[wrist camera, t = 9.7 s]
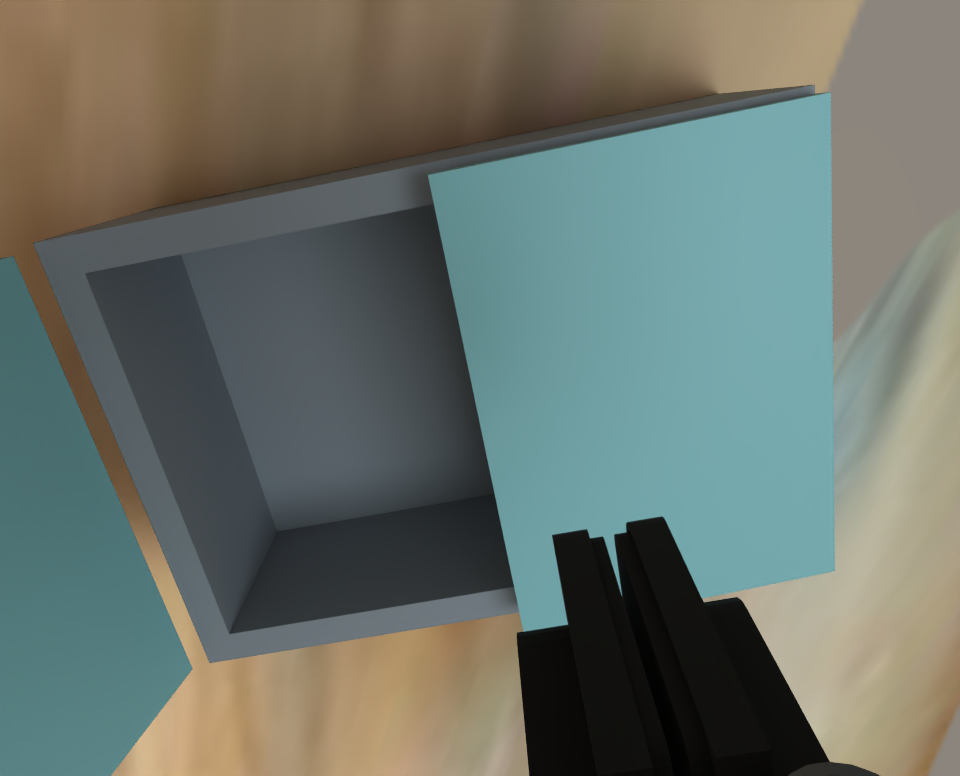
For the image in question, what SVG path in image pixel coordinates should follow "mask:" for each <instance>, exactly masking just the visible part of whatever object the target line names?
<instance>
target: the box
mask: <svg viewBox="0 0 960 776" xmlns="http://www.w3.org/2000/svg"><path fill="white" fill-rule="evenodd" d="M812 94H815V85H808V86H797V87H786V88H776V89H765V90H754V91H744V92H733V93H723V94H716V95H711V96H706V97H701V98H696V99H691V100H686V101H681V102H676V103H671V104H666V105H662V106H657V107H652V108H647V109H642V110H637V111H632V112H627V113H622V114H617V115H612V116H607V117H602V118H598V119H593V120H588V121H583V122H578V123H573V124H568V125H563V126H558V127H553V128H548V129H543V130H538V131H534V132H529V133H524V134H519V135H514V136H509V137H504V138H499V139H494V140H489V141H484V142H479V143H474V144H470V145H465V146H460V147H455V148H450V149H445V150H440V151H435V152H430V153H425V154H420V155H415V156H410V157H406V158H401V159H396V160H391V161H386V162H381V163H376V164H371V165H366V166H361V167H356V168H351V169H346V170H342V171H337V172H332V173H327V174H322V175H317V176H312V177H307V178H302V179H297V180H292V181H287V182H282V183H278V184H273V185H268V186H263V187H258V188H253V189H248V190H243V191H238V192H233V193H228V194H223V195H218V196H214V197H209V198H204V199H199V200H194V201H189V202H184V203H179V204H174V205H169V206H164V207H159V208H154V209H150V210H146V211H142V212H139V213H136V214H132V215H129V216H125V217H122V218H118V219H115V220H111V221H108V222H104V223H101V224H97V225H94V226H90V227H87V228H83V229H80V230H76V231H73V232H69V233H66V234H63V235H59V236H56V237H52V238H49V239H45V240H42V241H38V242H35V243H33V245H34V247H35V249H36V252H37V254H38V256H39V259H40V261H41V264H42V266H43V268H44V271H45V273H46V275H47V278H48V280H49V283H50V285H51V287H52V290H53V292H54V294H55V297H56V299H57V302H58V304H59V306H60V309H61V311H62V313H63V316H64V318H65V321H66V323H67V325H68V328H69V330H70V332H71V335H72V337H73V340H74V342H75V344H76V347H77V349H78V351H79V354H80V356H81V359H82V361H83V363H84V366H85V368H86V370H87V373H88V375H89V378H90V380H91V382H92V385H93V387H94V389H95V392H96V394H97V397H98V399H99V401H100V404H101V406H102V408H103V411H104V413H105V416H106V418H107V420H108V423H109V425H110V427H111V430H112V432H113V435H114V437H115V439H116V442H117V444H118V446H119V449H120V451H121V454H122V456H123V458H124V461H125V463H126V465H127V468H128V470H129V473H130V475H131V477H132V480H133V482H134V484H135V487H136V489H137V492H138V494H139V496H140V499H141V501H142V503H143V506H144V508H145V511H146V513H147V515H148V518H149V520H150V522H151V525H152V527H153V530H154V532H155V534H156V537H157V539H158V541H159V544H160V546H161V549H162V551H163V553H164V556H165V558H166V560H167V563H168V565H169V568H170V570H171V572H172V575H173V577H174V579H175V582H176V584H177V587H178V589H179V591H180V594H181V596H182V598H183V601H184V603H185V606H186V608H187V610H188V613H189V615H190V617H191V620H192V622H193V625H194V627H195V629H196V632H197V634H198V636H199V639H200V641H201V644H202V646H203V648H204V651H205V653H206V655H207V658H208V660H209V663H213V662H219V661H225V660H232V659H238V658H244V657H250V656H256V655H262V654H268V653H274V652H280V651H286V650H292V649H299V648H305V647H311V646H317V645H323V644H329V643H335V642H341V641H347V640H353V639H360V638H366V637H372V636H378V635H384V634H390V633H396V632H402V631H408V630H414V629H420V628H427V627H433V626H439V625H445V624H451V623H457V622H463V621H469V620H475V619H481V618H488V617H494V616H500V615H506V614H512V613H518V612H519V608H518V603H517V598H516V593H515V589H514V584H513V579H512V574H511V570H510V565H509V560H508V555H507V550H506V546H505V541H504V536H503V531H502V527H501V522H500V517H499V512H498V508H497V503H496V498H495V493H494V488H493V484H492V479H491V474H490V469H489V465H488V460H487V455H486V450H485V446H484V441H483V436H482V431H481V426H480V422H479V417H478V412H477V407H476V403H475V398H474V393H473V388H472V383H471V379H470V374H469V369H468V364H467V360H466V355H465V350H464V345H463V341H462V336H461V331H460V326H459V321H458V317H457V312H456V307H455V302H454V298H453V293H452V288H451V283H450V279H449V274H448V269H447V264H446V259H445V255H444V250H443V245H442V240H441V236H440V231H439V226H438V221H437V216H436V212H435V207H434V202H433V197H432V193H431V188H430V183H429V178H428V173H433V172H438V171H443V170H447V169H452V168H457V167H462V166H467V165H472V164H477V163H481V162H486V161H491V160H496V159H501V158H506V157H511V156H516V155H520V154H525V153H530V152H535V151H540V150H545V149H550V148H554V147H559V146H564V145H569V144H574V143H579V142H584V141H588V140H593V139H598V138H603V137H608V136H613V135H618V134H623V133H627V132H632V131H637V130H642V129H647V128H652V127H657V126H661V125H666V124H671V123H676V122H681V121H686V120H691V119H696V118H700V117H705V116H710V115H715V114H720V113H725V112H730V111H734V110H739V109H744V108H749V107H754V106H759V105H764V104H769V103H773V102H778V101H783V100H788V99H793V98H798V97H803V96H807V95H812Z"/></svg>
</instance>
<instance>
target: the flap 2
mask: <svg viewBox="0 0 960 776" xmlns="http://www.w3.org/2000/svg"><path fill="white" fill-rule="evenodd" d="M428 178H429V183H430V188H431V193H432V197H433V202H434V207H435V212H436V216H437V221H438V226H439V231H440V236H441V240H442V245H443V250H444V255H445V259H446V264H447V269H448V274H449V279H450V283H451V288H452V293H453V298H454V302H455V307H456V312H457V317H458V321H459V326H460V331H461V336H462V341H463V345H464V350H465V355H466V360H467V364H468V369H469V374H470V379H471V383H472V388H473V393H474V398H475V403H476V407H477V412H478V417H479V422H480V426H481V431H482V436H483V441H484V446H485V450H486V455H487V460H488V465H489V469H490V474H491V479H492V484H493V488H494V493H495V498H496V503H497V508H498V512H499V517H500V522H501V527H502V531H503V536H504V541H505V546H506V550H507V555H508V560H509V565H510V570H511V574H512V579H513V584H514V589H515V593H516V598H517V603H518V608H519V613H520V617H521V622H522V627H523V632H525V631H531V630H537V629H543V628H550V627H556V626H562V625H568V622H567V617H566V611H565V606H564V600H563V595H562V589H561V583H560V578H559V572H558V567H557V561H556V556H555V550H554V544H553V539H552V535H554V534H560V533H566V532H572V531H578V530H584V529H587V530H588V533H589V537H590V538H596V537H601V536H603V537H604V540H605V543H606V546H607V549H608V553H609V556H610V559H611V562H612V566H613V569H614V572H615V575H616V579H617V582H618V585H619V588H620V592H621V585H620V578H619V570H618V563H617V556H616V549H615V541H614V534H619V533H625V532H626V523H627V522H631V521H637V520H643V519H649V518H655V517H661V516H662V517H664V519H665V520H666V522H667V524H668V527H669V529H670V531H671V533H672V535H673V537H674V539H675V542H676V544H677V546H678V548H679V550H680V552H681V555H682V557H683V559H684V561H685V563H686V565H687V568H688V570H689V572H690V574H691V576H692V578H693V581H694V583H695V585H696V587H697V589H698V591H699V593H700V596H701V598H707V597H712V596H716V595H721V594H726V593H731V592H736V591H740V590H745V589H750V588H755V587H760V586H765V585H769V584H774V583H779V582H784V581H789V580H794V579H798V578H803V577H808V576H813V575H818V574H823V573H827V572H832V571H835V556H834V432H833V313H832V310H833V309H832V190H831V189H832V188H831V186H832V185H831V92H829V93H817V94H812V95H807V96H803V97H798V98H793V99H788V100H783V101H778V102H773V103H769V104H764V105H759V106H754V107H749V108H744V109H739V110H734V111H730V112H725V113H720V114H715V115H710V116H705V117H700V118H696V119H691V120H686V121H681V122H676V123H671V124H666V125H661V126H657V127H652V128H647V129H642V130H637V131H632V132H627V133H623V134H618V135H613V136H608V137H603V138H598V139H593V140H588V141H584V142H579V143H574V144H569V145H564V146H559V147H554V148H550V149H545V150H540V151H535V152H530V153H525V154H520V155H516V156H511V157H506V158H501V159H496V160H491V161H486V162H481V163H477V164H472V165H467V166H462V167H457V168H452V169H447V170H443V171H438V172H433V173H428ZM621 595H622V592H621Z"/></svg>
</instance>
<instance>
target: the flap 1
mask: <svg viewBox="0 0 960 776" xmlns="http://www.w3.org/2000/svg"><path fill="white" fill-rule="evenodd" d="M191 670H192V666H191V664H190V662H189V659H188V657H187V655H186V653H185V650H184V648H183V646H182V643H181V641H180V639H179V636H178V634H177V632H176V630H175V627H174V625H173V623H172V620H171V618H170V616H169V613H168V611H167V609H166V606H165V604H164V602H163V600H162V597H161V595H160V593H159V590H158V588H157V586H156V583H155V581H154V579H153V577H152V574H151V572H150V570H149V567H148V565H147V563H146V560H145V558H144V556H143V554H142V551H141V549H140V547H139V544H138V542H137V540H136V537H135V535H134V533H133V530H132V528H131V526H130V524H129V521H128V519H127V517H126V514H125V512H124V510H123V507H122V505H121V503H120V501H119V498H118V496H117V494H116V491H115V489H114V487H113V484H112V482H111V480H110V477H109V475H108V473H107V471H106V468H105V466H104V464H103V461H102V459H101V457H100V454H99V452H98V450H97V448H96V445H95V443H94V441H93V438H92V436H91V434H90V431H89V429H88V427H87V424H86V422H85V420H84V418H83V415H82V413H81V411H80V408H79V406H78V404H77V401H76V399H75V397H74V395H73V392H72V390H71V388H70V385H69V383H68V381H67V378H66V376H65V374H64V371H63V369H62V367H61V365H60V362H59V360H58V358H57V355H56V353H55V351H54V348H53V346H52V344H51V342H50V339H49V337H48V335H47V332H46V330H45V328H44V325H43V323H42V321H41V319H40V316H39V314H38V312H37V309H36V307H35V305H34V302H33V300H32V298H31V295H30V293H29V291H28V289H27V286H26V284H25V282H24V279H23V277H22V275H21V272H20V270H19V268H18V266H17V263H16V261H15V259H14V256H12V257H6V258H1V259H0V776H111V775H112V773H113V772H114V771H115V769H116V768H117V767H118V766H119V764H120V763H121V762H122V760H123V759H124V758H125V756H126V755H127V754H128V752H129V751H130V750H131V749H132V747H133V746H134V745H135V743H136V742H137V741H138V739H139V738H140V737H141V736H142V734H143V733H144V732H145V730H146V729H147V728H148V726H149V725H150V724H151V722H152V721H153V720H154V719H155V717H156V716H157V715H158V713H159V712H160V711H161V709H162V708H163V707H164V706H165V704H166V703H167V702H168V700H169V699H170V698H171V696H172V695H173V694H174V692H175V691H176V690H177V689H178V687H179V686H180V685H181V683H182V682H183V681H184V679H185V678H186V677H187V676H188V674H189V673H190V672H191Z"/></svg>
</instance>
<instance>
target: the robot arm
mask: <svg viewBox="0 0 960 776" xmlns="http://www.w3.org/2000/svg"><path fill="white" fill-rule="evenodd" d="M552 539H553V544H554V550H555V556H556V561H557V567H558V572H559V578H560V583H561V589H562V595H563V600H564V606H565V611H566V617H567V622H568V625H562V626H556V627H550V628H543V629H537V630H531V631H525V632H519V633H517V646H518V657H519V667H520V678H521V689H522V700H523V711H524V722H525V733H526V744H527V755H528V766H529V776H879V775H878V774H876V773H873V772H871V771H868V770H865V769H862V768H860V767H857V766H854V765H850V764H842V763H834V762H830V761H829V760H828V758H827V756H826V754H825V752H824V750H823V748H822V747H821V745H820V743H819V741H818V739H817V737H816V736H815V734H814V732H813V730H812V728H811V726H810V724H809V723H808V721H807V719H806V717H805V715H804V713H803V712H802V710H801V708H800V706H799V704H798V702H797V700H796V699H795V697H794V695H793V693H792V691H791V689H790V687H789V686H788V684H787V682H786V680H785V678H784V676H783V675H782V673H781V671H780V669H779V667H778V665H777V663H776V662H775V660H774V658H773V656H772V654H771V652H770V651H769V649H768V647H767V645H766V643H765V641H764V639H763V638H762V636H761V634H760V632H759V630H758V628H757V627H756V625H755V623H754V621H753V619H752V617H751V615H750V614H749V612H748V610H747V608H746V607H745V605H744V604H743V602H742V601H741V600H740V599H739V598H738V597H735V598H729V599H723V600H717V601H711V602H703V600H702V598H701V596H700V593H699V591H698V589H697V587H696V585H695V583H694V581H693V578H692V576H691V574H690V572H689V570H688V568H687V565H686V563H685V561H684V559H683V557H682V555H681V552H680V550H679V548H678V546H677V544H676V542H675V539H674V537H673V535H672V533H671V531H670V529H669V527H668V524H667V522H666V520H665V519H664V517H662V516H661V517H655V518H649V519H643V520H637V521H631V522H627V523H626V532H625V533H619V534H614V541H615V549H616V556H617V563H618V570H619V578H620V585H621V592H622V595H621V592H620V588H619V585H618V582H617V579H616V575H615V572H614V569H613V566H612V562H611V559H610V556H609V553H608V549H607V546H606V543H605V540H604V537H603V536H601V537H596V538H590V537H589V533H588V530H587V529H584V530H578V531H572V532H566V533H560V534H554V535H552Z"/></svg>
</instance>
